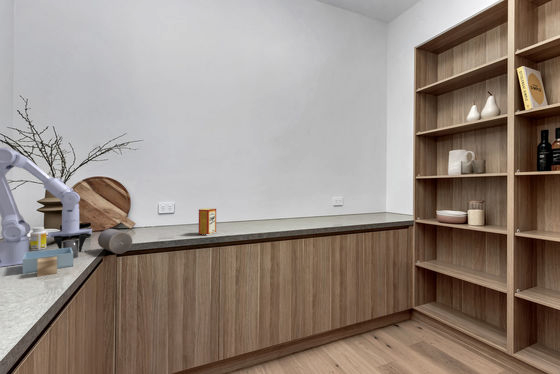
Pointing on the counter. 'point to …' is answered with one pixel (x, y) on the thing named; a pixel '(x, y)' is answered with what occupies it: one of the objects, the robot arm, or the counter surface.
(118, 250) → the pillar candle
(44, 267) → the oak block
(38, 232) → the supplement bottle
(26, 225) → the robot arm
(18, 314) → the counter surface
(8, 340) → the counter surface
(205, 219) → the baking soda box
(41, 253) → the tote
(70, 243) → the grey cylinder
